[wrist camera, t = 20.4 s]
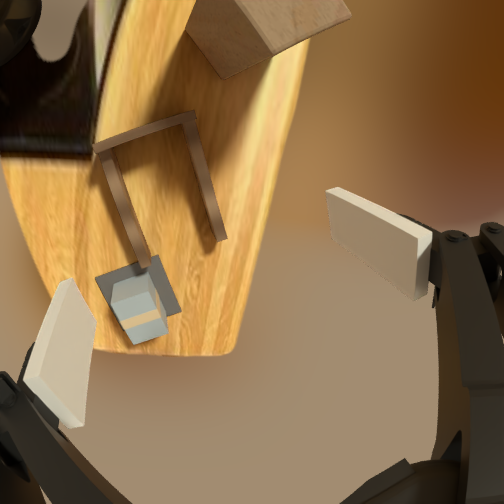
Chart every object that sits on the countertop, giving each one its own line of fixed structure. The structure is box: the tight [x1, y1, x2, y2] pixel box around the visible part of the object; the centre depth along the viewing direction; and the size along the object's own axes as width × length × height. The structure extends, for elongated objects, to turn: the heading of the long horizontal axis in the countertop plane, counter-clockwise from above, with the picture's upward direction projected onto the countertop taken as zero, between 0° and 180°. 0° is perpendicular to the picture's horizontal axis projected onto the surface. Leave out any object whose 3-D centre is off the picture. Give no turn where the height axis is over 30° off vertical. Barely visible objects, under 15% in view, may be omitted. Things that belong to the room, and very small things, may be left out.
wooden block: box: [185, 0, 351, 80], centre depth 28 cm, size 10×10×20 cm
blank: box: [111, 272, 169, 345], centre depth 46 cm, size 8×6×6 cm
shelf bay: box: [93, 110, 228, 268], centre depth 41 cm, size 18×13×6 cm
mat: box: [95, 255, 181, 331], centre depth 49 cm, size 11×11×1 cm
